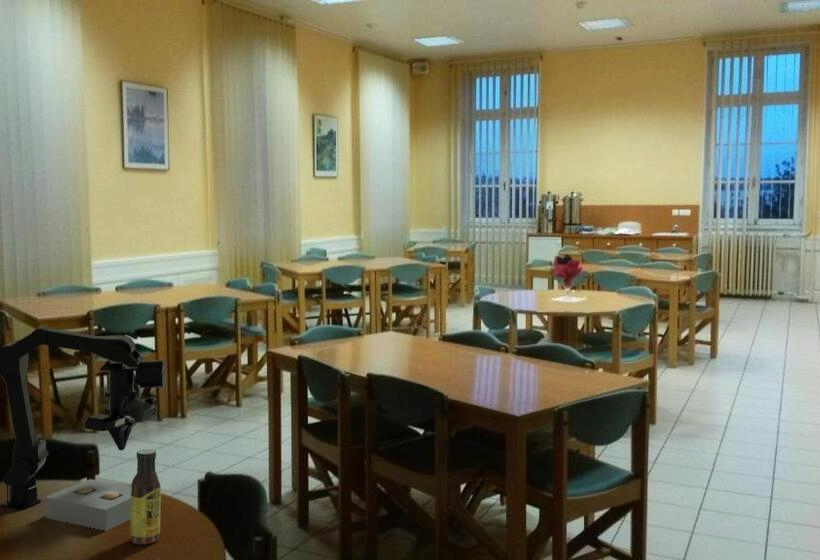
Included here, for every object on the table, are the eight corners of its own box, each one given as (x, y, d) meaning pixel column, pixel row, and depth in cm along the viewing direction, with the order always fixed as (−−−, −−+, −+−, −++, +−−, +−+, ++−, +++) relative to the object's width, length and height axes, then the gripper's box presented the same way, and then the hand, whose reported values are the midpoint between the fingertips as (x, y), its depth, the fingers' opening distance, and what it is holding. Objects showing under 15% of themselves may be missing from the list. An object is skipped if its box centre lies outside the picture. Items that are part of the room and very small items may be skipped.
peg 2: (99, 518, 184) (99, 495, 183) (110, 513, 187) (110, 490, 186) (111, 520, 182) (111, 497, 182) (122, 515, 186) (122, 493, 185)
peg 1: (73, 512, 187) (73, 490, 186) (84, 507, 190) (84, 485, 189) (85, 515, 185) (84, 492, 185) (96, 510, 189) (96, 487, 188)
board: (45, 517, 183) (45, 497, 182) (90, 498, 196) (90, 479, 195) (106, 531, 176) (106, 509, 176) (148, 510, 189) (148, 490, 189)
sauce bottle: (150, 547, 168) (150, 457, 167) (124, 544, 170) (124, 454, 168) (166, 535, 175) (166, 448, 173) (140, 532, 176) (140, 446, 174)
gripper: (120, 399, 181) (120, 465, 182) (172, 384, 198) (172, 444, 199) (82, 394, 185) (83, 458, 186) (137, 379, 202) (137, 438, 203)
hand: (121, 449), depth 194 cm, fingers closed
